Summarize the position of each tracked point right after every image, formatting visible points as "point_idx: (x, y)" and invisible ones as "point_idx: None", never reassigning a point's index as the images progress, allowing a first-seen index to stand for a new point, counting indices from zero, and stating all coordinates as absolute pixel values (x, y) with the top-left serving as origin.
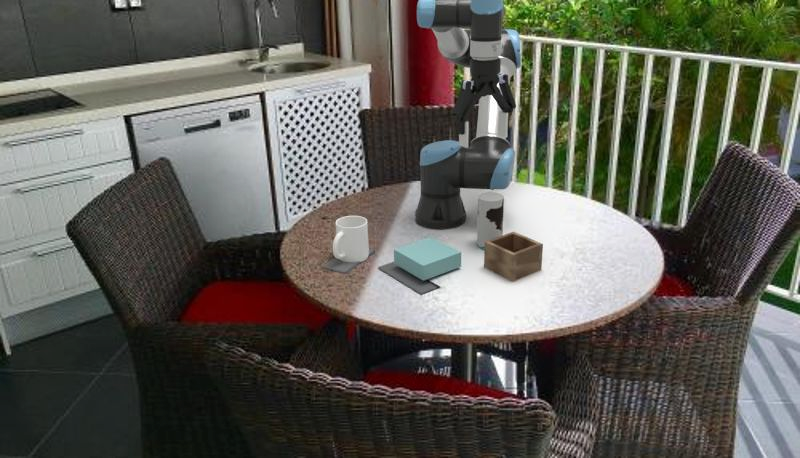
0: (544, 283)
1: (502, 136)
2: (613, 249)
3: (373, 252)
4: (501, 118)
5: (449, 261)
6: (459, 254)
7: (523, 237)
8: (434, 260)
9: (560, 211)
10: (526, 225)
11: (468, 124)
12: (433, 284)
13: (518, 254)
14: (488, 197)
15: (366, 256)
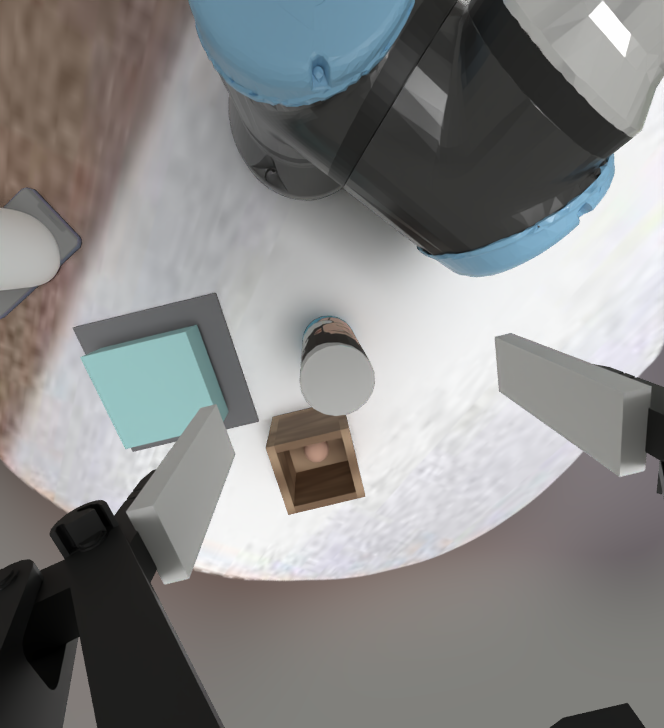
0: None
1: (498, 372)
2: (522, 434)
3: (75, 250)
4: (576, 404)
5: None
6: None
7: (349, 459)
8: (154, 437)
9: (589, 229)
10: None
11: (194, 559)
12: None
13: (300, 510)
14: (327, 384)
15: (48, 279)
